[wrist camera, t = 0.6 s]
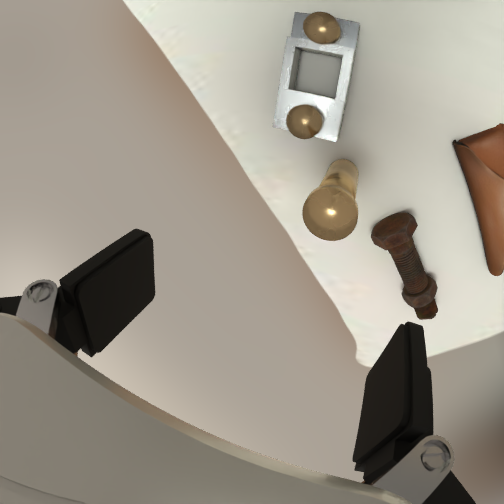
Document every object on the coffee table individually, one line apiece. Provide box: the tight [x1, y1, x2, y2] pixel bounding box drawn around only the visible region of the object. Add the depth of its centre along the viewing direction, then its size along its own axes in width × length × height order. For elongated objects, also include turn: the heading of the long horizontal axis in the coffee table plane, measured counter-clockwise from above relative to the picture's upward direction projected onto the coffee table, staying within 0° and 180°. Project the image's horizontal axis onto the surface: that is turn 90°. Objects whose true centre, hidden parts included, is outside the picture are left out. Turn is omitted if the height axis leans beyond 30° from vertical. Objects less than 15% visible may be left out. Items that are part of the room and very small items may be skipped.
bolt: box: [371, 212, 438, 320], centre depth 33 cm, size 6×5×15 cm
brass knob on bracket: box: [273, 12, 360, 142], centre depth 26 cm, size 14×7×4 cm, turn 172°
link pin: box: [303, 159, 358, 241], centre depth 28 cm, size 4×4×13 cm
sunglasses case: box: [453, 123, 504, 276], centre depth 25 cm, size 18×7×7 cm
